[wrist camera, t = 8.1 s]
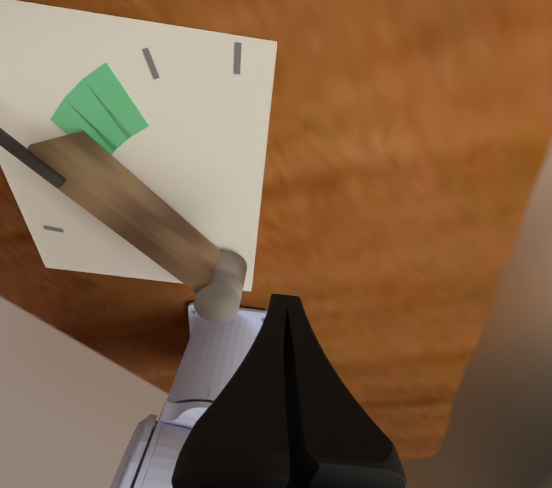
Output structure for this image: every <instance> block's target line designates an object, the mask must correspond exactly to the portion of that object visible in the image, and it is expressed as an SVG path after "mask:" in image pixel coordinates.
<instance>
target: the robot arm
mask: <svg viewBox="0 0 552 488" xmlns="http://www.w3.org/2000/svg"><path fill="white" fill-rule="evenodd" d="M193 310H194V311H193ZM188 316H189V329H190V339H189V341H188V344H187V347H186V350H185V352H184V355H183V358H182V360H181V363H180V366H179V368H178V371H177V374H176V377H175V379H174V382H173V385H172V387H171V390H170V393H169V396H168V398H167V401H166V402H165V404H164V406H163V409H162V412H161V414H160V417H159V419H158V421H156V418H157V415H153V414H150V415H149V416H148V417H147V418H145V419H144V420H142V421H141V422H139V423H138V425H137V427H136V429H135V431H134V433H133V436H132V438H131V440H130V442H129V444H128V446H127V449H126V451H125V453H124V456H123V458H122V460H121V463H120V465H119V467H118V470H117V472H116V474H115V477H114V479H113V482H112V484H111V487H110V488H404V487H405V486H406V477H405V473H404V470H403V467H402V464H401V461H400V459H399V456H398V454H397V451H396V449H395V447H394V444H393V443H392V442H391V441H390V439H389V438H388V437H387V436H386V435H385V434H384V433H383V432H382V431H381V430H380V429H379V427H378V426H377V425H376V424H375V423H374V422H373V421H372V419H371V418H370V417H369V416H368V415H367V413H366V412H365V411H364V410H363V409H362V407H361V406H360V405H359V404H358V402H357V401H356V400H355V398H354V397H353V396H352V394H351V393H350V392H349V390H348V389H347V388H346V386H345V385H344V384H343V382H342V381H341V379H340V378H339V376H338V375H337V373H336V372H335V370H334V369H333V367H332V365H331V364H330V362H329V360H328V359H327V357H326V355H325V354H324V352H323V350H322V348H321V346H320V344H319V342H318V340H317V338H316V336H315V334H314V332H313V330H312V328H311V326H310V323H309V321H308V319H307V316H306V314H305V311H304V308H303V305H302V302H301V299H300V298H299V297H298V296H289V295H281V294H272V295H271V298H270V304H269V308H268V311H265V310H257V309H248V308H239V311H238V314H237V316H236V317H235V318H234V319H233V320H231V321H229V322H225V323H214V322H210V321H207V320H205V319H203V318H202V317H200V316H199V315H198V314H197V312H196V311H195V309H194V302H191V303H190V304H189V305H188ZM263 318H265V319H263Z"/></svg>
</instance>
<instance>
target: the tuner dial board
mask: <svg viewBox="0 0 552 488" xmlns="http://www.w3.org/2000/svg"><path fill="white" fill-rule="evenodd" d="M276 51H277V42H276V41H269V40H263V39H257V38H250V37H244V36H238V35H231V34H225V33H219V32H212V31H206V30H200V29H193V28H187V27H181V26H174V25H168V24H162V23H155V22H149V21H143V20H136V19H130V18H124V17H117V16H111V15H105V14H98V13H92V12H86V11H80V10H73V9H67V8H61V7H54V6H48V5H42V4H35V3H29V2H23V1H16V0H0V128H1V129H3V130H4V131H5V132H6V133H8V134H9V135H10V136H12V137H13V138H14V139H15V140H17V141H18V142H19V143H21V144H22V145H23V146H24V147H26V148H28V147H29V145H30V144H34V143H38V142H41V141H45V140H49V139H53V138H57V137H61V136H65V135H68V134H72V133H76V132H80V131H85V132H86V133H87V134H88V135H89V136H90V137H92V138H93V139H94V140H95V141H96V142H97V143H98V144H100V145H101V146H102V147H103V148H104V149H105V150H106V151H108V152H109V153H110V154H111V155H112V156H113V157H114V158H116V159H117V160H118V161H119V162H120V163H121V164H122V165H123V166H125V167H126V168H127V169H128V170H129V171H130V172H131V173H133V174H134V175H135V176H136V177H137V178H138V179H139V180H141V181H142V182H143V183H144V184H145V185H146V186H147V187H149V188H150V189H151V190H152V191H153V192H154V193H155V194H157V195H158V196H159V197H160V198H161V199H162V200H163V201H165V202H166V203H167V204H168V205H169V206H170V207H171V208H173V209H174V210H175V211H176V212H177V213H178V214H179V215H181V216H182V217H183V218H184V219H185V220H186V221H187V222H189V223H190V224H191V225H192V226H193V227H194V228H195V229H197V230H198V231H199V232H200V233H201V234H202V235H203V236H205V237H206V238H207V239H208V240H209V241H210V242H211V243H213V244H214V245H215V246H216V247H217V248H218V249H219V250H220V251H232V252H235V253H237V254H239V255H241V256H242V257H243V258H244V260H245V261H246V264H247V271H246V276H245V281H244V286H243V291H250V292H251V289H252V282H253V272H254V263H255V253H256V244H257V234H258V224H259V215H260V205H261V196H262V186H263V176H264V167H265V157H266V147H267V138H268V128H269V119H270V109H271V99H272V90H273V80H274V71H275V61H276ZM0 165H1V167H2V170H3V172H4V174H5V177H6V179H7V181H8V183H9V186H10V188H11V190H12V192H13V195H14V197H15V199H16V201H17V204H18V206H19V208H20V210H21V213H22V215H23V217H24V219H25V222H26V224H27V226H28V228H29V231H30V233H31V235H32V238H33V240H34V242H35V244H36V247H37V249H38V251H39V253H40V256H41V258H42V260H43V262H44V265H45V267H46V268H54V269H63V270H71V271H80V272H88V273H97V274H105V275H114V276H122V277H131V278H139V279H148V280H156V281H165V282H173V283H182V282H181V281H179V280H178V279H177V278H175V277H174V276H173V275H172V274H170V273H169V272H168V271H166V270H165V269H164V268H162V267H161V266H160V265H158V264H157V263H156V262H154V261H153V260H152V259H150V258H149V257H148V256H146V255H145V254H144V253H142V252H141V251H140V250H138V249H137V248H136V247H134V246H133V245H132V244H130V243H129V242H128V241H126V240H125V239H124V238H122V237H121V236H120V235H118V234H117V233H116V232H114V231H113V230H112V229H110V228H109V227H108V226H106V225H105V224H104V223H102V222H101V221H100V220H98V219H97V218H96V217H94V216H93V215H92V214H90V213H89V212H88V211H86V210H85V209H84V208H82V207H81V206H80V205H78V204H77V203H76V202H74V201H73V200H72V199H70V198H69V197H68V196H66V195H65V194H64V193H62V192H61V191H60V190H58V189H57V188H56V187H54V186H53V185H52V184H50V183H49V182H48V181H46V180H45V179H44V178H42V177H41V176H40V175H38V174H37V173H36V172H34V171H33V170H32V169H30V168H29V167H28V166H26V165H25V164H24V163H22V162H21V161H20V160H19V159H17V158H16V157H15V156H13V155H12V154H11V153H9V152H8V151H7V150H5V149H4V148H3V147H1V146H0ZM182 284H183V283H182Z"/></svg>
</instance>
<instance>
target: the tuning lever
mask: <svg viewBox="0 0 552 488" xmlns="http://www.w3.org/2000/svg"><path fill="white" fill-rule="evenodd" d="M0 146H1V147H3V148H4V149H5V150H7V151H8V152H9V153H11V154H12V155H13V156H15V157H16V158H17V159H19V160H20V161H21V162H22V163H24V164H25V165H26V166H28V167H29V168H30V169H32V170H33V171H34V172H36V173H37V174H38V175H40V176H41V177H42V178H44V179H45V180H46V181H48V182H49V183H50V184H52V185H53V186H54V187H56V188H57V189H58V190H60V191H61V192H62V193H64V194H65V195H66V196H68V197H69V198H70V199H72V200H73V201H74V202H76V203H77V204H78V205H80V206H81V207H82V208H84V209H85V210H86V211H88V212H89V213H90V214H92V215H93V216H94V217H96V218H97V219H98V220H100V221H101V222H102V223H104V224H105V225H106V226H108V227H109V228H110V229H112V230H113V231H114V232H116V233H117V234H118V235H120V236H121V237H122V238H124V239H125V240H126V241H128V242H129V243H130V244H132V245H133V246H134V247H136V248H137V249H138V250H140V251H141V252H142V253H144V254H145V255H146V256H148V257H149V258H150V259H152V260H153V261H154V262H156V263H157V264H158V265H160V266H161V267H162V268H164V269H165V270H166V271H168V272H169V273H170V274H172V275H173V276H174V277H175V278H177V279H178V280H179V281H181V282H182V283H183V284H185V285H186V286H187V287H189V288H190V289H191V290H193V291H194V292H195V293H197V296H196V298H195V301H194V309H195V311H196V312H197V314H198V315H199V316H200V317H202V318H203V319H205V320H207V321H210V322H214V323H225V322H229V321H231V320H233V319H234V318H235V317H236V316H237V314H238V311H239V306H240V301H241V296H242V291H243V286H244V281H245V276H246V271H247V264H246V261H245V260H244V258H243V257H242V256H241V255H239V254H237V253H235V252H232V251H220V250H219V249H218V248H217V247H216V246H215V245H214V244H213V243H211V242H210V241H209V240H208V239H207V238H206V237H205V236H203V235H202V234H201V233H200V232H199V231H198V230H197V229H195V228H194V227H193V226H192V225H191V224H190V223H189V222H187V221H186V220H185V219H184V218H183V217H182V216H181V215H179V214H178V213H177V212H176V211H175V210H174V209H173V208H171V207H170V206H169V205H168V204H167V203H166V202H165V201H163V200H162V199H161V198H160V197H159V196H158V195H157V194H155V193H154V192H153V191H152V190H151V189H150V188H149V187H147V186H146V185H145V184H144V183H143V182H142V181H141V180H139V179H138V178H137V177H136V176H135V175H134V174H133V173H131V172H130V171H129V170H128V169H127V168H126V167H125V166H123V165H122V164H121V163H120V162H119V161H118V160H117V159H116V158H114V157H113V156H112V155H111V154H110V153H109V152H108V151H106V150H105V149H104V148H103V147H102V146H101V145H100V144H98V143H97V142H96V141H95V140H94V139H93V138H92V137H90V136H89V135H88V134H87V133H86V132H85V131H80V132H76V133H72V134H68V135H65V136H61V137H57V138H53V139H49V140H45V141H41V142H38V143H34V144H30V145H29V147H28V148H26V147H24V146H23V145H22V144H21V143H19V142H18V141H17V140H15V139H14V138H13V137H12V136H10V135H9V134H8V133H6V132H5V131H4V130H3V129H1V128H0Z"/></svg>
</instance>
